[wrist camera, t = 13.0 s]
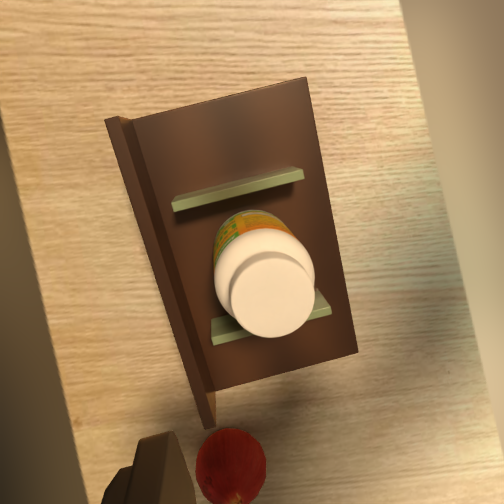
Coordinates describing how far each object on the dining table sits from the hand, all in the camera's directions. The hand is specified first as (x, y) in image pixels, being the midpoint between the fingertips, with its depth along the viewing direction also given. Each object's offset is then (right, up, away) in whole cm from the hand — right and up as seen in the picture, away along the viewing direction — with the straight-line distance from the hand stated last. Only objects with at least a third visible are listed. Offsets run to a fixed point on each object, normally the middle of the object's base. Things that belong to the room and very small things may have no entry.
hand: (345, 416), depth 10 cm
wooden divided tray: (-3, +5, +24) cm, 24 cm away
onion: (-4, -13, +29) cm, 32 cm away
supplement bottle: (-2, +4, +19) cm, 20 cm away
